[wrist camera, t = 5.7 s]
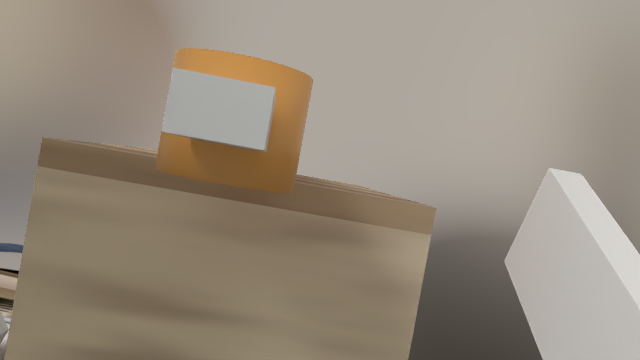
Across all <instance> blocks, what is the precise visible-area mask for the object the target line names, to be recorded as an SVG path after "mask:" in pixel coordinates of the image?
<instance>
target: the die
mask: <svg viewBox="0 0 640 360" xmlns="http://www.w3.org/2000/svg"><path fill="white" fill-rule="evenodd" d="M8 330H9V329H8V327H7V325H6V323H5V321H4V318H3V316H2V314H1V312H0V343H1V341H2V340H3V338H4V337H5V335H6V333H7V332H8Z"/></svg>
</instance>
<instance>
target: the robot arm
mask: <svg viewBox="0 0 640 360" xmlns="http://www.w3.org/2000/svg"><path fill="white" fill-rule="evenodd" d="M504 262H505V264H506V267H507V269H508V272H509V274H510V277H511V279H512V282H513V285H514V287H515V289H516V292H517V295H518V297H519V300H520V302H521V305H522V308H523V310H524V312H525V315H526V318H527V320H528V323H529V325H530V328H531V330H532V333H533V336H534V338H535V341H536V343H537V346H538V348H539V351H540V353H541V356H542V358H543V360H640V254H639V253H638V252H637V250H636V249H635V247H634V246H633V245H632V243H631V242H630V241H629V239H628V238H627V236H626V235H625V234H624V232H623V231H622V229H621V228H620V227H619V225H618V224H617V223H616V221H615V220H614V219H613V217H612V216H611V214H610V213H609V212H608V210H607V209H606V207H605V206H604V205H603V203H602V202H601V201H600V199H599V198H598V196H597V195H596V194H595V192H594V191H593V190H592V188H591V187H590V186H589V184H588V183H587V182H586V180H585V179H584V177H583V176H582V175H581V174H578V173H573V172H568V171H562V170H557V169H552V168H549V169H548V171H547V174H546V175H545V177H544V180H543V182H542V184H541V186H540V188H539V190H538V192H537V194H536V196H535V198H534V201H533V202H532V204H531V207H530V209H529V211H528V213H527V215H526V217H525V219H524V221H523V223H522V225H521V227H520V229H519V231H518V234H517V236H516V238H515V240H514V242H513V244H512V246H511V248H510V250H509V252H508V254H507V256H506V258H505V261H504Z"/></svg>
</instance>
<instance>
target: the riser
mask: <svg viewBox="0 0 640 360" xmlns="http://www.w3.org/2000/svg"><path fill="white" fill-rule="evenodd" d="M157 154H158V150H156V149H147V148H137V147H128V146H118V145H109V144H100V143H89V142H80V141H72V140H62V139H52V138H42V143H41V149H40V155H39V160H38V166H37V172H36V178H35V184H34V189H33V195H32V201H31V207H30V213H29V219H28V224H27V229H26V235H25V241H24V247H23V253H22V258H21V264H20V270H19V276H18V281H17V287H16V293H15V299H14V305H13V310H12V316H11V322H10V328H9V334H8V339H7V345H6V351H5V357H4V360H408V356H409V351H410V346H411V341H412V335H413V330H414V324H415V319H416V314H417V308H418V303H419V297H420V292H421V286H422V281H423V276H424V271H425V265H426V260H427V255H428V249H429V244H430V238H431V233H432V228H433V222H434V217H435V212H436V208H434V207H431V206H427V205H424V204H420V203H417V202H413V201H410V200H406V199H402V198H399V197H396V196H392V195H388V194H385V193H382V192H378V191H375V190H371V189H368V188H364V187H361V186H357V185H352V184H347V183H341V182H336V181H330V180H325V179H319V178H313V177H308V176H302V175H297V174H296V178H295V184H294V189H293V193H278V192H270V191H263V190H256V189H249V188H243V187H236V186H230V185H225V184H219V183H213V182H208V181H202V180H197V179H192V178H187V177H182V176H178V175H173V174H169V173H165V172H161V171H158V170H155V165H156V160H157Z"/></svg>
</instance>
